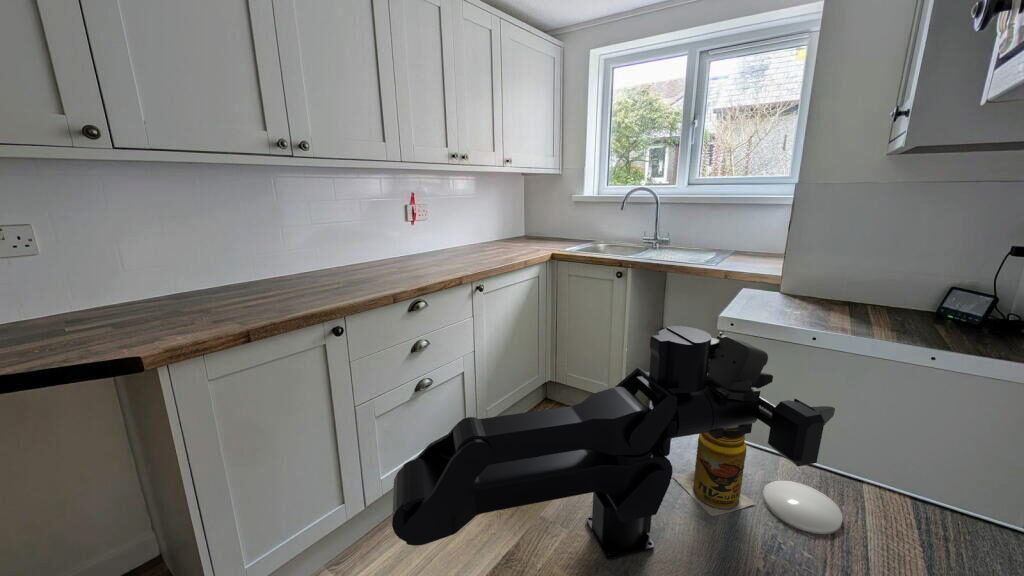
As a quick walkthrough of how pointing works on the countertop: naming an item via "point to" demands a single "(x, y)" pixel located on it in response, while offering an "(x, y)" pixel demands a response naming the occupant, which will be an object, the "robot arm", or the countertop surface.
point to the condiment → (718, 473)
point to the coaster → (802, 507)
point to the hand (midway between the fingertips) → (800, 393)
